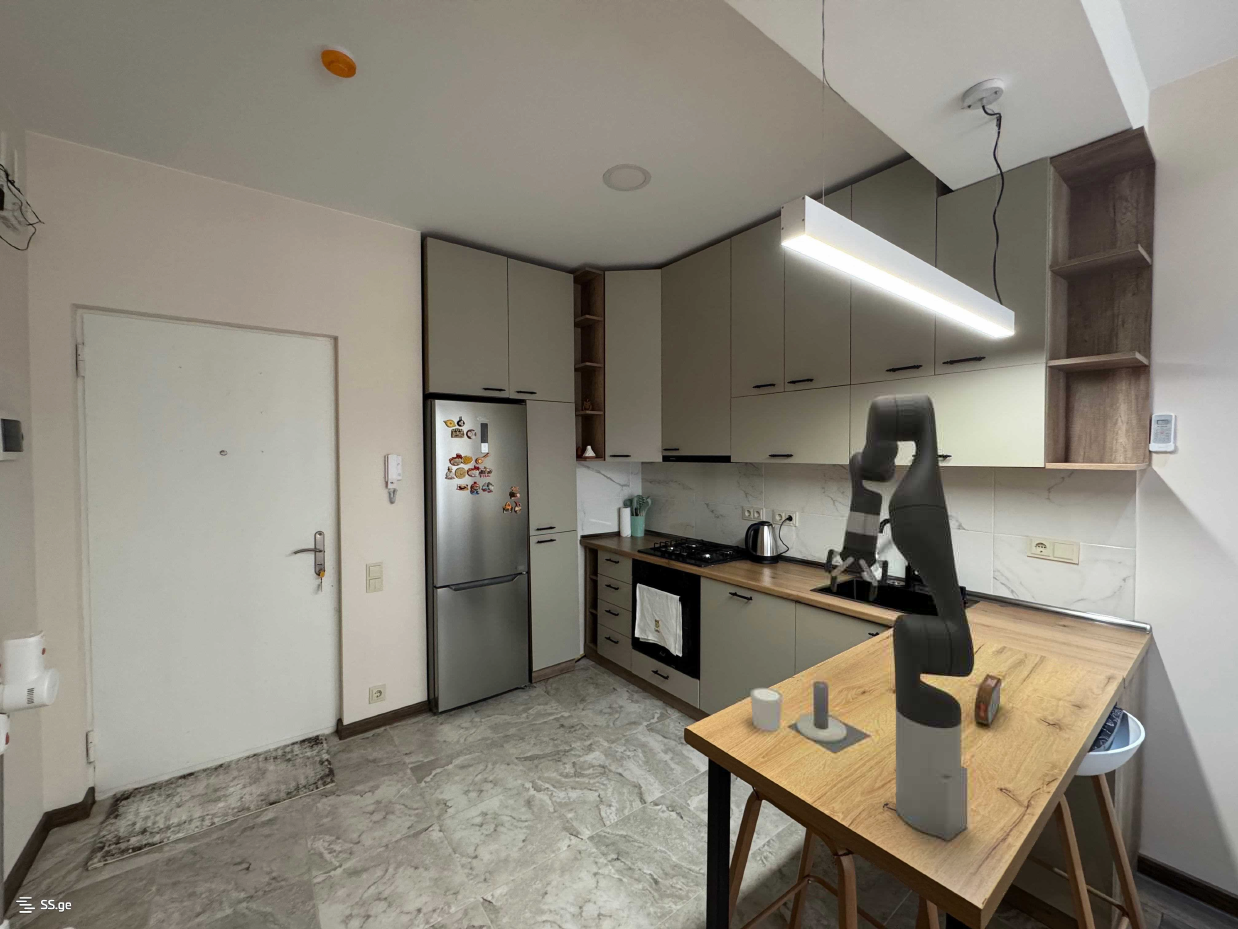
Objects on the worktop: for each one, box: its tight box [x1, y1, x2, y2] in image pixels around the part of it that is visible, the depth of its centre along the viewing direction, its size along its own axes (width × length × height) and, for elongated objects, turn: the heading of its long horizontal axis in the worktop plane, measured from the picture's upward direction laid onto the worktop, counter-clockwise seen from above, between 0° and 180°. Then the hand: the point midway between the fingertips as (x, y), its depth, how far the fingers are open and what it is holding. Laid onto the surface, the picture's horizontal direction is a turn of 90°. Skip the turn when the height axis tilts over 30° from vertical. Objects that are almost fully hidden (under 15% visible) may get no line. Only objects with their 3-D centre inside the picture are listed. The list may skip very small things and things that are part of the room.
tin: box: [973, 673, 1002, 726], centre depth 115 cm, size 15×3×8 cm, turn 134°
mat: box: [786, 713, 872, 754], centre depth 109 cm, size 12×12×1 cm
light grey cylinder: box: [750, 687, 783, 732], centre depth 112 cm, size 7×7×7 cm
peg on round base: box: [796, 680, 846, 743], centre depth 109 cm, size 10×10×10 cm
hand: (851, 595), depth 127 cm, fingers open, 8 cm apart
